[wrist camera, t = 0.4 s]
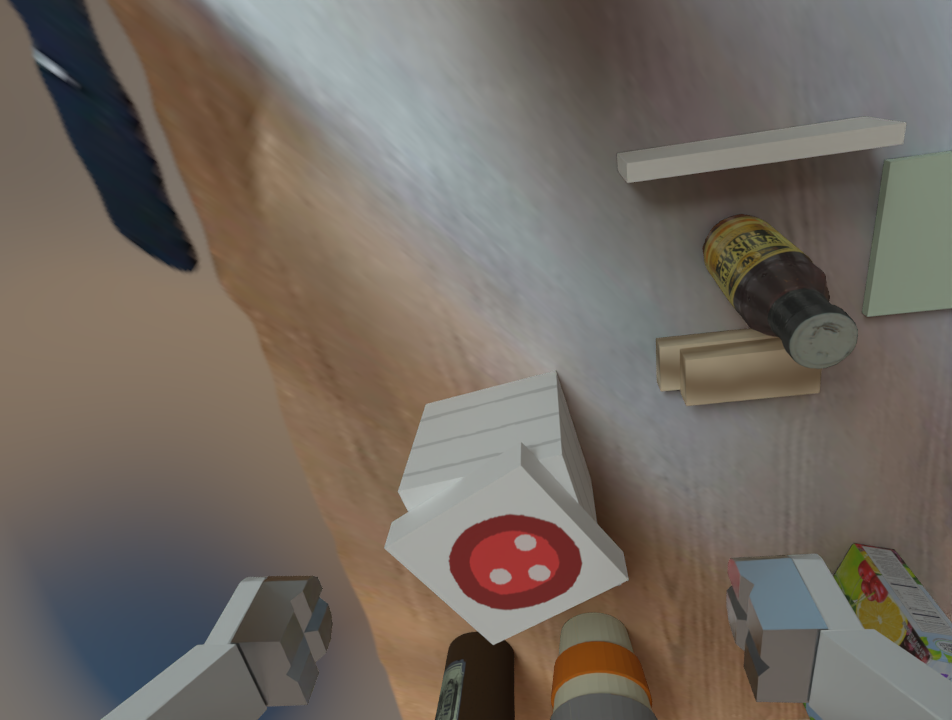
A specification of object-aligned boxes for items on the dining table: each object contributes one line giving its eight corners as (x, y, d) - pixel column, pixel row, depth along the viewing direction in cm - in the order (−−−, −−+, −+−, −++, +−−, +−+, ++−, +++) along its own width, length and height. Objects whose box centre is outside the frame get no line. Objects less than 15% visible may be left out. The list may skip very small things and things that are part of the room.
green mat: (884, 159, 49) (890, 161, 48) (1016, 141, 47) (1026, 143, 47) (861, 312, 55) (867, 316, 54) (979, 300, 54) (986, 304, 53)
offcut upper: (679, 348, 56) (685, 360, 54) (812, 333, 54) (823, 345, 52) (680, 393, 58) (686, 405, 56) (808, 379, 56) (819, 392, 54)
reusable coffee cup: (623, 674, 81) (641, 793, 68) (536, 654, 81) (537, 770, 68) (655, 615, 76) (681, 732, 62) (561, 593, 75) (568, 707, 62)
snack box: (822, 664, 77) (883, 790, 64) (780, 656, 77) (832, 781, 64) (898, 548, 67) (989, 668, 54) (850, 540, 67) (929, 657, 54)
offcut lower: (654, 336, 58) (659, 347, 56) (802, 320, 56) (813, 331, 54) (656, 379, 61) (660, 391, 58) (798, 365, 59) (808, 377, 56)
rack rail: (616, 153, 51) (626, 163, 45) (864, 116, 48) (906, 122, 42) (617, 170, 51) (627, 183, 46) (862, 135, 48) (902, 144, 43)
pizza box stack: (490, 583, 76) (478, 722, 60) (403, 392, 64) (358, 501, 48) (636, 556, 71) (666, 699, 55) (573, 346, 59) (587, 450, 43)
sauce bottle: (740, 197, 51) (849, 265, 34) (784, 244, 53) (910, 333, 35) (681, 249, 54) (753, 339, 36) (725, 293, 55) (814, 399, 38)
